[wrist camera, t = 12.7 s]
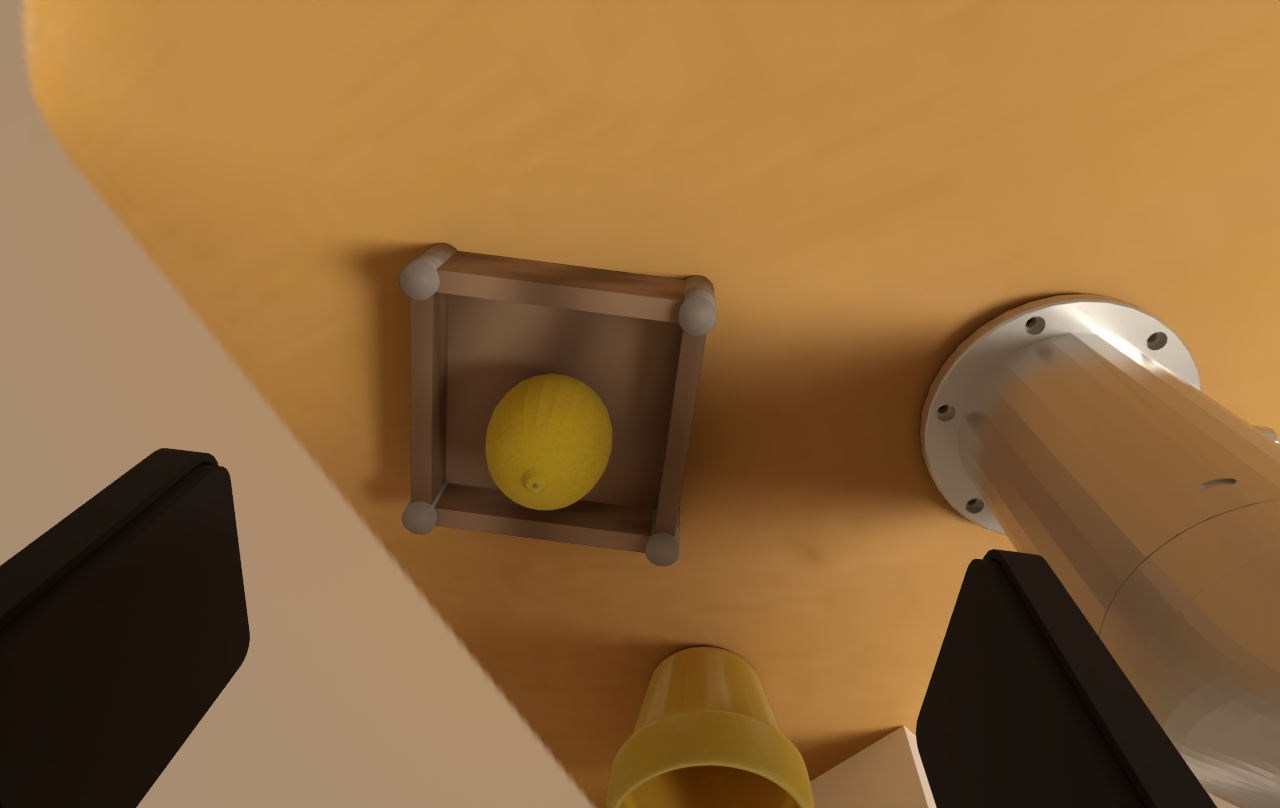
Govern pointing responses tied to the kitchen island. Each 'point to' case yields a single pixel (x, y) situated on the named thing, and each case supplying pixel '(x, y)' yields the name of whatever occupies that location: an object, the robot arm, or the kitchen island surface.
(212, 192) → the kitchen island surface
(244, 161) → the kitchen island surface
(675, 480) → the wooden square tray
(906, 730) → the milk
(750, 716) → the plant pot
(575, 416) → the lemon
